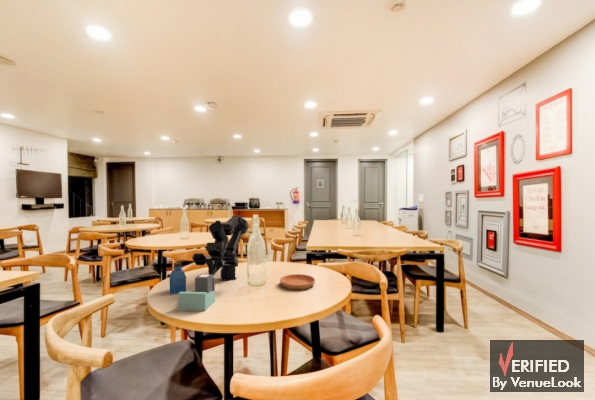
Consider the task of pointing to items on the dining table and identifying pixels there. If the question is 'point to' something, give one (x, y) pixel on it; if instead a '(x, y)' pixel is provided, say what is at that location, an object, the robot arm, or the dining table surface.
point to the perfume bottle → (177, 279)
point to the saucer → (297, 281)
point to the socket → (195, 300)
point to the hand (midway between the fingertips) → (209, 277)
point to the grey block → (204, 283)
